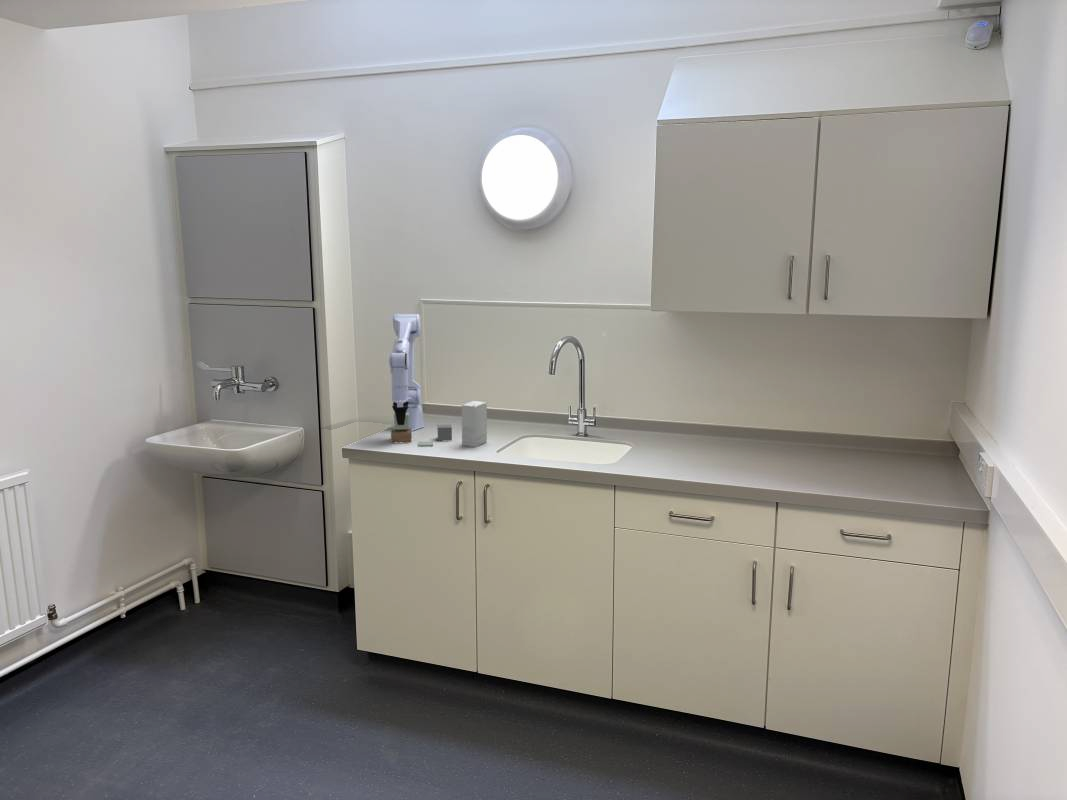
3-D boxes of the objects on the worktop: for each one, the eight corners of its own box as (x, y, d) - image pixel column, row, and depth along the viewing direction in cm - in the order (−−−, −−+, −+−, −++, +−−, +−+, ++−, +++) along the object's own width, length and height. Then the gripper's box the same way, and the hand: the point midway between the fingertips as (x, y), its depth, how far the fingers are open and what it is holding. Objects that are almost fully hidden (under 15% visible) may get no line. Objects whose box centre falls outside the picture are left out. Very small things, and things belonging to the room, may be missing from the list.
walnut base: (392, 439, 284) (391, 428, 283) (411, 438, 285) (411, 428, 284) (391, 443, 277) (391, 432, 276) (411, 443, 278) (410, 432, 277)
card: (418, 443, 277) (418, 441, 277) (432, 442, 278) (432, 441, 278) (418, 446, 272) (418, 445, 272) (433, 446, 273) (432, 444, 273)
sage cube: (395, 426, 282) (394, 412, 281) (408, 425, 283) (408, 412, 282) (394, 429, 277) (394, 415, 276) (408, 428, 278) (408, 415, 277)
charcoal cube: (437, 438, 285) (437, 424, 284) (451, 437, 286) (451, 424, 285) (437, 441, 280) (437, 427, 279) (451, 440, 281) (451, 427, 280)
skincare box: (473, 440, 281) (472, 400, 278) (487, 442, 278) (487, 401, 276) (461, 445, 274) (460, 404, 271) (475, 447, 271) (475, 405, 268)
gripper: (411, 389, 271) (412, 427, 273) (411, 382, 285) (412, 418, 287) (390, 389, 270) (391, 427, 272) (391, 382, 284) (393, 419, 286)
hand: (401, 423), depth 280 cm, fingers closed on sage cube, 5 cm apart
